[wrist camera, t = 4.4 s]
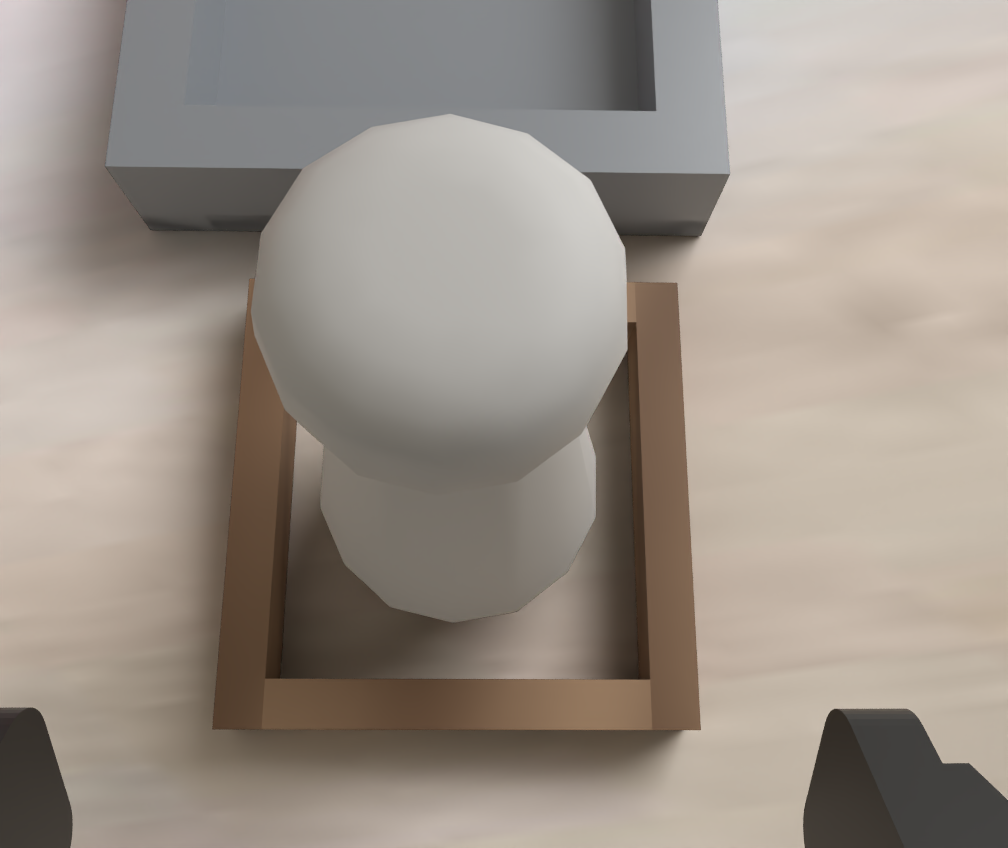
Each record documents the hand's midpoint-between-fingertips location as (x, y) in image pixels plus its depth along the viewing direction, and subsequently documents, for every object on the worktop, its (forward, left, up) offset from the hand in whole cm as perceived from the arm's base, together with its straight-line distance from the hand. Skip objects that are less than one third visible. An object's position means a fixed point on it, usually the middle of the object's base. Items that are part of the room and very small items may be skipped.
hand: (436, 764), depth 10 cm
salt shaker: (0, -5, -12) cm, 13 cm away
